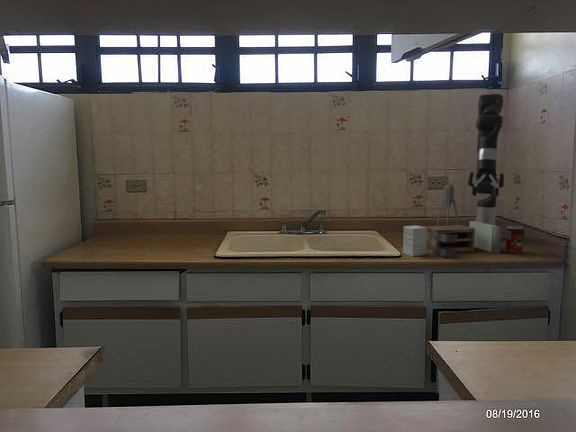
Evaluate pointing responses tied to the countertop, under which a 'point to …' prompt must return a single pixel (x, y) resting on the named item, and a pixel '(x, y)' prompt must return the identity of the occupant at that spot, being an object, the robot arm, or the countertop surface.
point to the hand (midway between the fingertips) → (484, 196)
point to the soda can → (514, 239)
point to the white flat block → (487, 236)
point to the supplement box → (414, 240)
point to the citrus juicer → (448, 202)
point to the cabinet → (449, 239)
